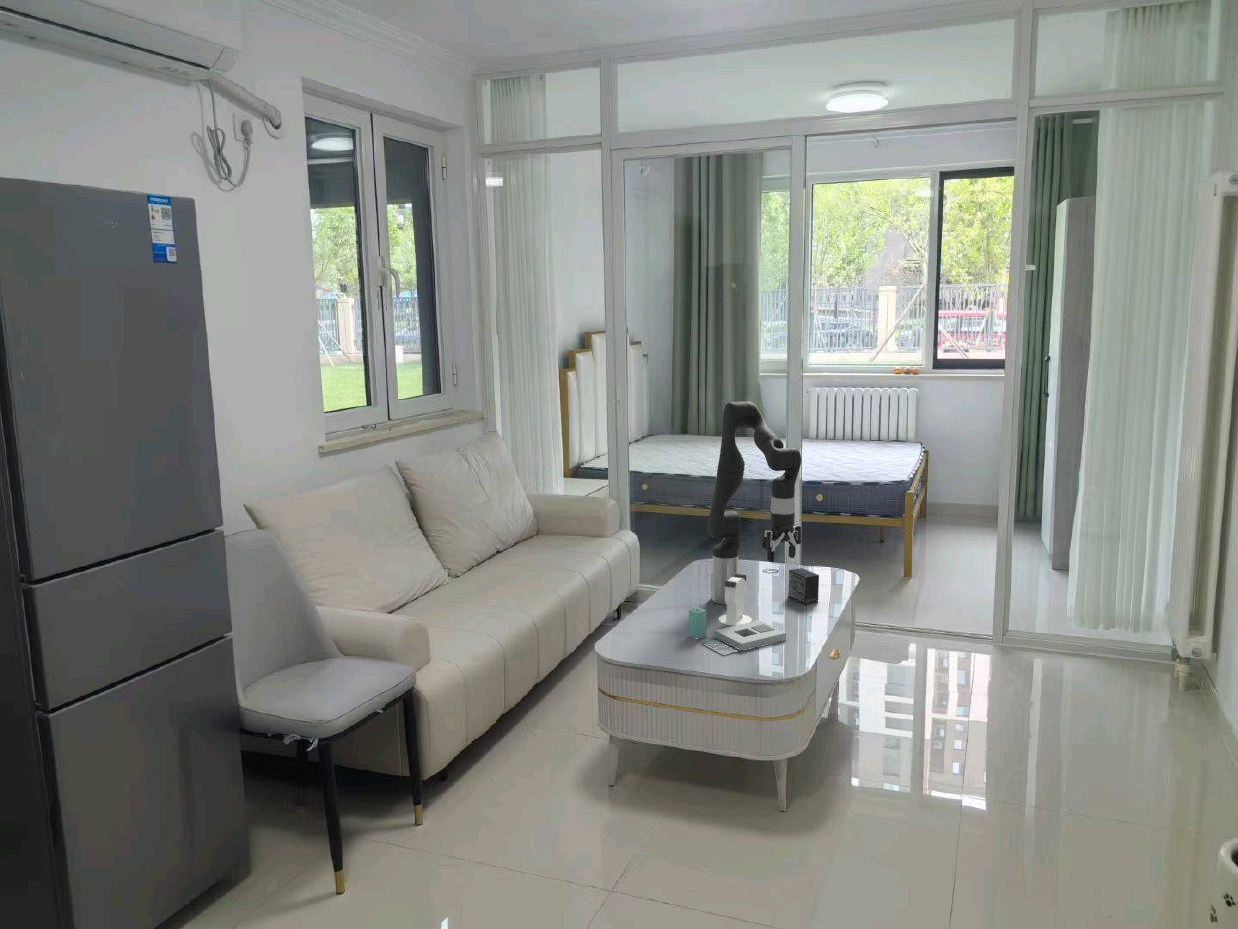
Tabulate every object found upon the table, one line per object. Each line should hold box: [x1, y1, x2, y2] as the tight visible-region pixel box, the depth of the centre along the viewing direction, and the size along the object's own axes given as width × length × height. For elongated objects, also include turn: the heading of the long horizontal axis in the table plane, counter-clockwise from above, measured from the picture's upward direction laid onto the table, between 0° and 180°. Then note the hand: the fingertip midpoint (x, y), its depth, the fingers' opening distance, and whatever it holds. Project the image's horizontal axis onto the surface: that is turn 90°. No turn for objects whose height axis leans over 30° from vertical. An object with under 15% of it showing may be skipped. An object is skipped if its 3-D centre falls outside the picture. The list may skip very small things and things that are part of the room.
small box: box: [787, 567, 820, 606], centre depth 339 cm, size 11×6×10 cm, turn 25°
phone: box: [700, 638, 737, 650], centre depth 294 cm, size 6×12×1 cm, turn 30°
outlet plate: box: [714, 620, 787, 651], centre depth 301 cm, size 14×18×3 cm
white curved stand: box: [718, 573, 753, 627], centre depth 318 cm, size 12×11×15 cm
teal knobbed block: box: [688, 607, 707, 639], centre depth 304 cm, size 4×4×10 cm
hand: (781, 559), depth 298 cm, fingers open, 8 cm apart
